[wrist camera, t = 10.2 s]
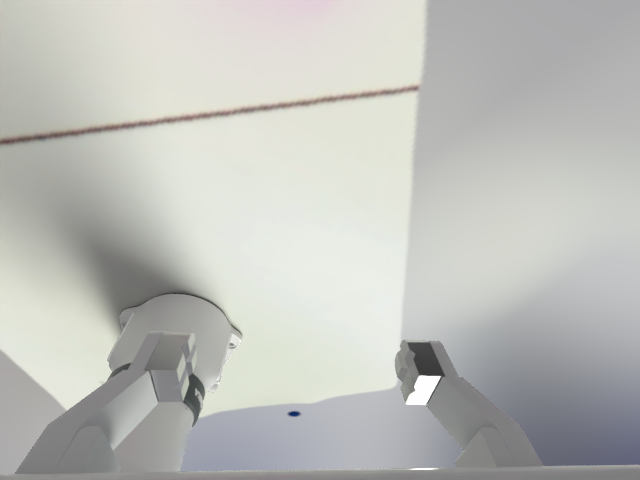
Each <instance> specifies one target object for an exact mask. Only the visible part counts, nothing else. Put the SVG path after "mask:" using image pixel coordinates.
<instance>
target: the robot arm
mask: <svg viewBox="0 0 640 480" xmlns="http://www.w3.org/2000/svg"><path fill="white" fill-rule="evenodd" d="M119 321H120V325H121V330H122V333H121V334H120V336H119V338H118V340H117V341H116V343H115V345H114V347H113V349H112V351H111V352H110V354H109V356H108V360H107V361H108V362H109V367H110V369H111V371H112V373H111V375H110V377H109V378H108V380H107V382H105V383H104V384H103V385H102V386H100V387H99V388H98V389H96V390H95V391H94V392H92V393H91V394H89V395H88V396H87V397H85V398H84V399H83V400H81V401H80V402H78V403H77V404H76V405H74V406H73V407H72V408H70V409H69V410H68V411H66V412H65V413H64V414H62V415H61V416H59V417H58V418H57V419H55V420H54V421H53V422H51V423H50V424H48V426H47V427H46V429H45V430H44V431H43V433H42V434H41V436H40V437H39V439H38V440H37V442H36V443H35V445H34V446H33V447H32V449H31V450H30V452H29V453H28V455H27V456H26V458H25V459H24V461H23V462H22V463H21V465H20V466H19V468H18V469H17V471H16V472H15V474H0V480H640V465H599V466H543V464H542V462H541V461H540V459H539V457H538V456H537V454H536V452H535V451H534V449H533V448H532V446H531V444H530V442H529V440H528V439H527V437H526V435H525V434H524V432H523V430H522V429H521V427H520V426H519V425H518V424H517V423H516V422H514V421H513V420H512V419H511V418H510V417H508V416H507V415H506V414H505V413H504V412H503V411H501V410H500V409H499V408H498V407H497V406H495V405H494V404H493V403H492V402H491V401H490V400H489V399H487V398H486V397H485V396H484V395H483V394H481V393H480V392H479V391H478V390H477V389H475V388H474V387H473V386H472V385H471V384H470V383H469V382H467V381H466V380H465V379H464V378H463V377H459V376H458V374H457V372H456V370H455V368H454V366H453V364H452V362H451V360H450V358H449V356H448V354H447V352H446V350H445V348H444V346H443V344H442V343H441V342H440V341H426V340H403V341H402V342H401V345H400V347H401V351H399V352H398V353H397V355H396V358H395V370H396V374H397V377H398V378H399V379H400V380H401V381H402V382H403V383H402V386H401V390H402V393H403V397H404V400H405V403H406V404H417V405H427V407H428V409H429V410H430V411H431V412H432V413H433V414H434V416H435V417H436V418H437V419H438V421H439V422H440V423H441V424H442V425H443V426H444V428H445V429H446V430H447V431H448V432H449V434H450V435H451V436H452V437H453V438H454V440H455V441H456V442H457V443H458V444H459V446H460V447H461V448H462V449H463V450H464V451H463V452H462V453H461V455H460V456H459V457H458V459H457V460H456V462H455V465H456V467H457V468H399V469H398V468H395V469H394V468H392V469H328V470H327V469H322V470H257V471H256V470H252V471H189V472H188V471H186V472H185V471H183V472H180V468H181V464H182V460H183V457H184V453H185V450H186V446H187V442H188V438H189V435H190V432H191V428H192V427H193V426H194V425H195V423H196V421H197V419H198V416H199V414H200V412H201V409H202V406H203V400H204V396H205V393H206V392H211V393H214V392H215V390H216V388H217V386H218V384H219V382H220V379H221V373H222V370H223V366H224V365H225V364H226V362H227V361H228V360H229V358H230V357H231V356H232V354H233V353H234V352H235V350H236V349H237V348H238V346H239V345H240V344H241V341H242V338H243V337H242V335H241V334H240V333H239V332H238V331H237V330H236V329H234V328H233V327H232V326H231V325H230V323H229V321H228V320H227V318H226V316H225V315H224V314H223V313H222V312H221V311H220V310H219V309H218V308H217V307H216V306H214V305H213V304H211V303H209V302H207V301H205V300H203V299H201V298H198V297H194V296H190V295H184V294H166V295H161V296H157V297H154V298H152V299H150V300H148V301H147V302H145V303H144V304H142V305H141V306H138V307H133V308H128V309H125V310H123V311H122V312H121V314H120V316H119Z"/></svg>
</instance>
